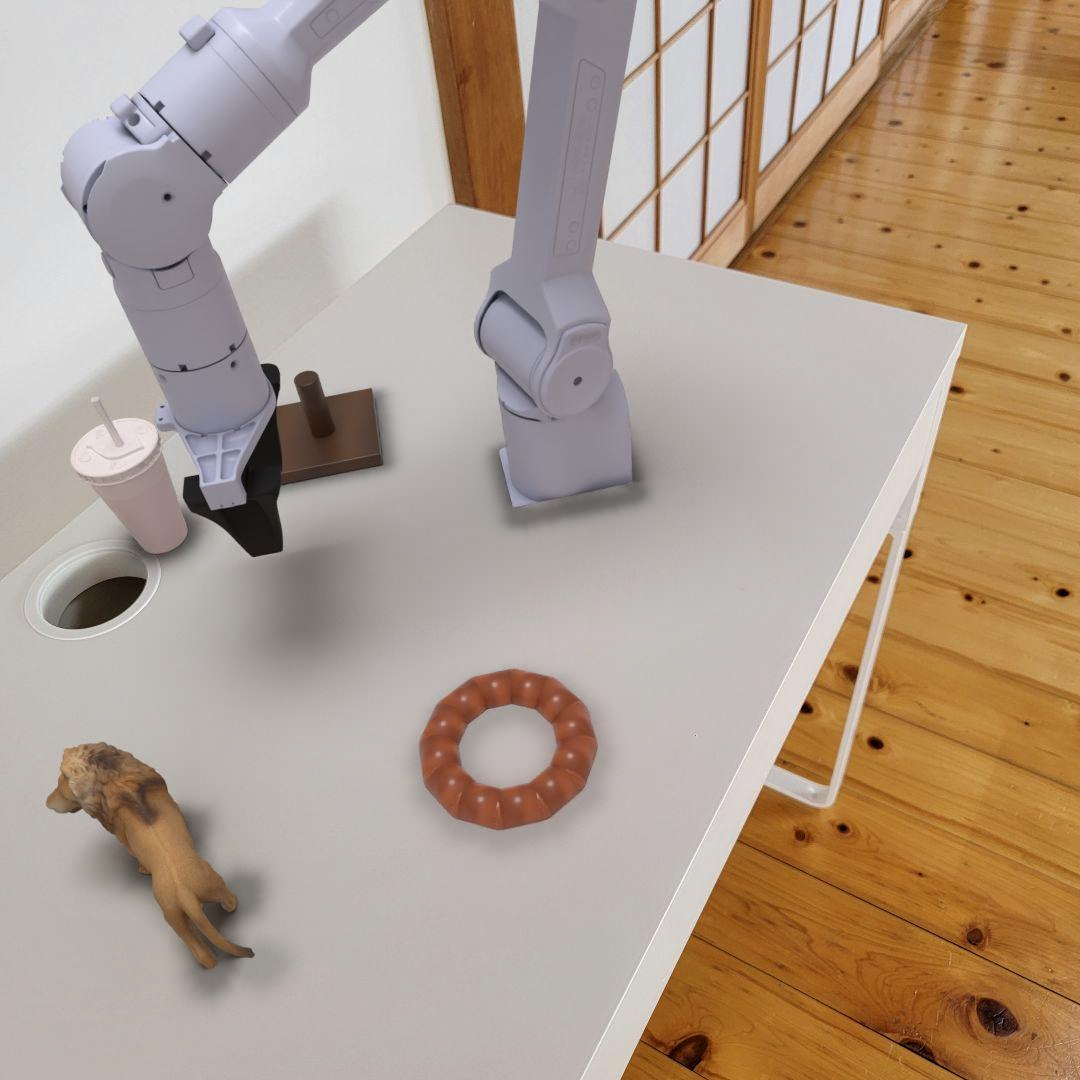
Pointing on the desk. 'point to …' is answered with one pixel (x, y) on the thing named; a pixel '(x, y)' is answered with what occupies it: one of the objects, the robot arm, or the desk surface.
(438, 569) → the desk surface
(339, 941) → the desk surface
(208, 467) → the robot arm
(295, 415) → the peg stand
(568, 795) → the ring
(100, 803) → the lion figurine
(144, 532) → the smoothie
